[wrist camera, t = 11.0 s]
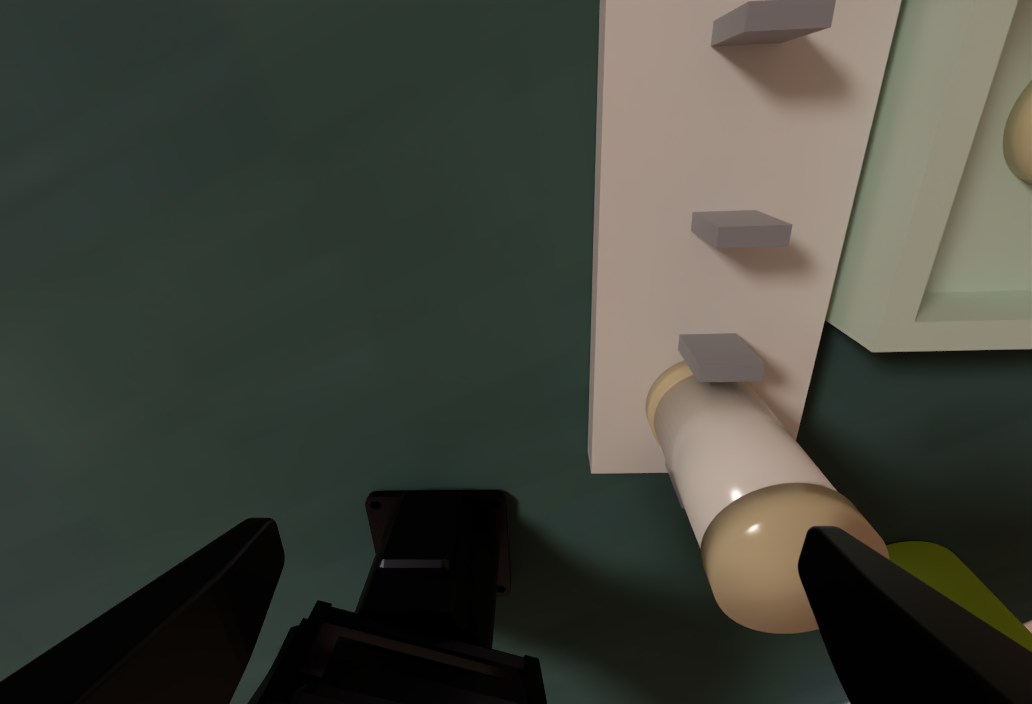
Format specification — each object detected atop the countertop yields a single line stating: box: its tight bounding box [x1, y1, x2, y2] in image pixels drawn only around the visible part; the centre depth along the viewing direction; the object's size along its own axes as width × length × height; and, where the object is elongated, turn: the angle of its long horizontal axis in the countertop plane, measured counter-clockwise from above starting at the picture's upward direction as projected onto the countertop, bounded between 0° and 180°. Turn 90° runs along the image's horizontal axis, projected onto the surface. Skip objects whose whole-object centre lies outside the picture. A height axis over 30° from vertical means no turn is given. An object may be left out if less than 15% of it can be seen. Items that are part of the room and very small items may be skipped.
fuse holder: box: [588, 0, 902, 508], centre depth 15 cm, size 26×8×4 cm, turn 2°
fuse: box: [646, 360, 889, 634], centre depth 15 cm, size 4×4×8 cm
